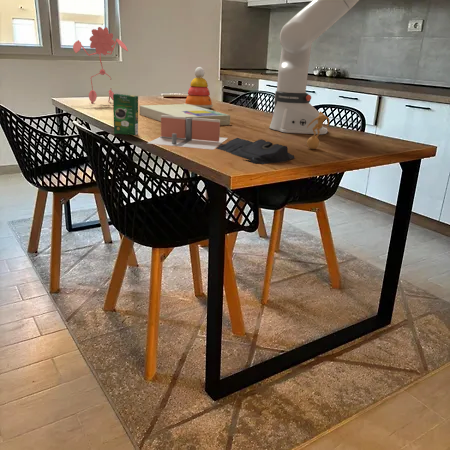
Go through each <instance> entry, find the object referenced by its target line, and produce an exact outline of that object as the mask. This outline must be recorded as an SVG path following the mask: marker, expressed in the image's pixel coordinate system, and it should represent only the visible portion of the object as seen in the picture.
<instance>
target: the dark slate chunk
mask: <svg viewBox="0 0 450 450" xmlns="http://www.w3.org/2000/svg"><path fill="white" fill-rule="evenodd" d="M215 149H216V150H220V151H224V152H226V153H229V154H231V155H233V156H236V157H239V158H242V159H244V161H245V162H248V163H251V164H253V165H254V164H255V165H258V164H260V165H266V164H276V163H277V164H278V163H284V162H288V161H291V160H294V159H295V158H296V157H295V156H294V154H291V153H290V152H289V151H288V150H289V149H288V146H287V145H282V144H279V143H272V141H267V140H265V139H258V140H255V141H251V140H248V139H247V140H246V139H243V138H240V137H236V138H233V139H231V140H229V141H227V142H226V143H222V144H220V145H219V146H217V147H216V148H215Z"/></svg>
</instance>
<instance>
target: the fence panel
mask: <svg viewBox="0 0 450 450" xmlns="http://www.w3.org/2000/svg"><path fill="white" fill-rule="evenodd" d="M220 129H221V125H220V120H215V119H203V118H193V119H192V139H195V140H206V141H217V142H219V137H221V135H220V132H221V130H220Z"/></svg>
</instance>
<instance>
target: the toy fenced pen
mask: <svg viewBox="0 0 450 450" xmlns="http://www.w3.org/2000/svg"><path fill="white" fill-rule="evenodd" d="M227 139H228V137H221V136H220V137H219V142H217V141H206V140H195V139H192V140H186V138H185V139H184V138H177V134H172V137H162V136H161V135H160V136H159V137H157V138H155V139H153V140H150V141H149V142H147V144H149V145H161V146H168V147H169V146H170V147H171V146H172V147H182V148H189V149H190V148H191V149H200V150H201V149H204V150H212V151H213V150H215V149H216V148H217V147H219V146H220V145H222V144H223V143H224V142H225V141H226V140H227ZM228 140H229V139H228Z"/></svg>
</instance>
